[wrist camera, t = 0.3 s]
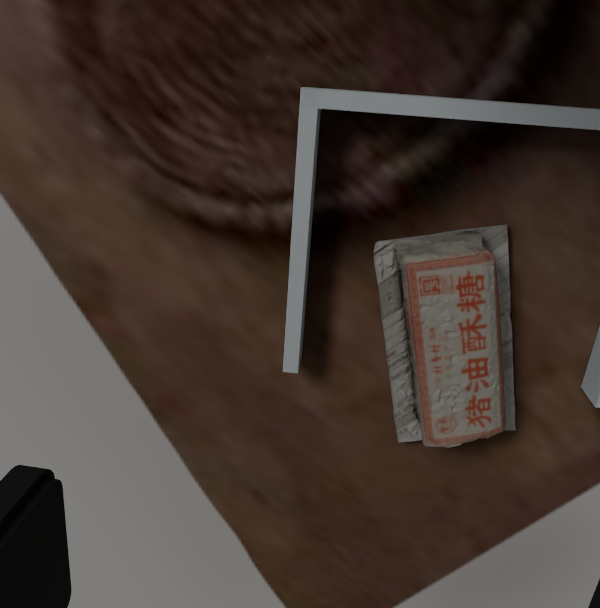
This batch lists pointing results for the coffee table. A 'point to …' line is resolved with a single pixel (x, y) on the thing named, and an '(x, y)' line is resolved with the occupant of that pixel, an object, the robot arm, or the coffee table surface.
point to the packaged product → (448, 334)
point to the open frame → (312, 100)
